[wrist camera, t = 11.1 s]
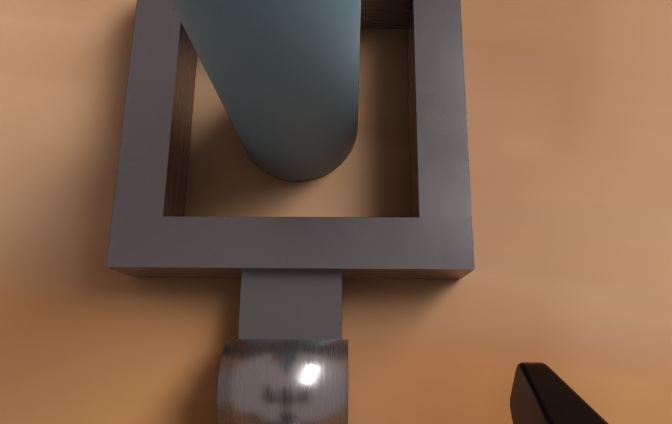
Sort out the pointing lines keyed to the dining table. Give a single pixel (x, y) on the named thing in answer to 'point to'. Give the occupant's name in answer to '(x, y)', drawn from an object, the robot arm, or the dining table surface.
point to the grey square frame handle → (291, 232)
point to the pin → (283, 77)
